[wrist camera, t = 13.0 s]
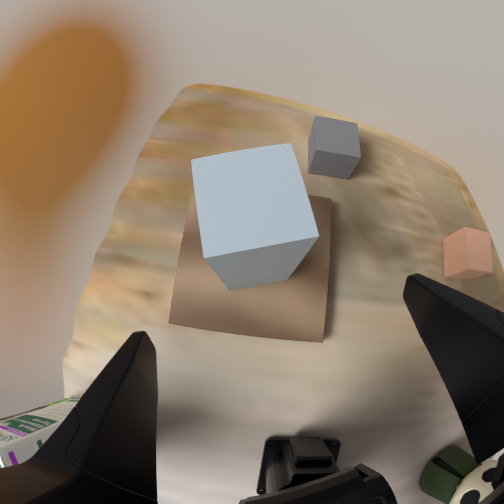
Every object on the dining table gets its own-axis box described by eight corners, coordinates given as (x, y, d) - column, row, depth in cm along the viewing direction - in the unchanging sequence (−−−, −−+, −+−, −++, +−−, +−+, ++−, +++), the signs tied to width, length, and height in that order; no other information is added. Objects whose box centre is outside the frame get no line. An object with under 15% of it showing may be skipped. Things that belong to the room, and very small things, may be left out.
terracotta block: (469, 279, 22) (493, 272, 18) (444, 277, 22) (468, 269, 18) (467, 243, 23) (489, 232, 19) (442, 239, 23) (465, 226, 19)
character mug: (462, 416, 18) (546, 440, 6) (478, 445, 17) (547, 470, 4) (389, 489, 17) (451, 552, 4) (412, 510, 15) (466, 561, 3)
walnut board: (318, 341, 21) (322, 342, 20) (172, 323, 22) (168, 323, 20) (328, 204, 24) (331, 198, 23) (196, 189, 25) (194, 183, 23)
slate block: (287, 279, 21) (319, 236, 11) (229, 291, 21) (203, 258, 10) (275, 225, 22) (290, 142, 12) (220, 236, 22) (191, 159, 11)
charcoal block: (347, 179, 25) (361, 157, 21) (307, 173, 25) (315, 149, 21) (345, 147, 26) (357, 123, 22) (308, 141, 26) (315, 115, 22)
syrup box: (110, 398, 20) (-6, 443, 6) (128, 453, 18) (40, 528, 4) (67, 397, 19) (-43, 423, 5) (83, 449, 18) (-9, 499, 4)
